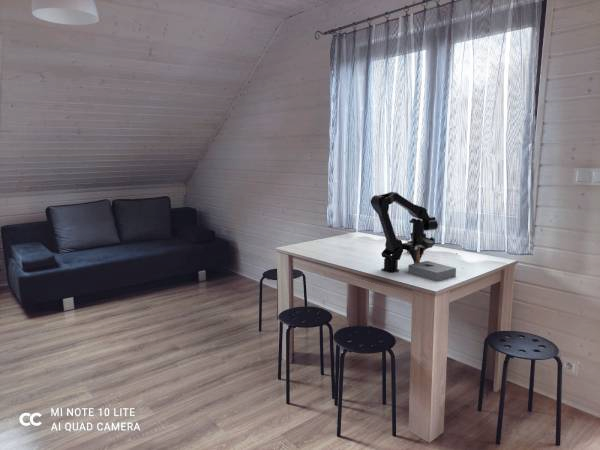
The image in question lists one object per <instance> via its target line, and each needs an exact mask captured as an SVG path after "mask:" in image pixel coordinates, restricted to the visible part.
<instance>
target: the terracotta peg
mask: <svg viewBox="0 0 600 450" xmlns="http://www.w3.org/2000/svg"><path fill="white" fill-rule="evenodd" d="M417 249H418V250H419V251H418V252H417V256H416V262H414V261H413V264H415V263H420V262H421V259H420V248H419V247H417Z"/></svg>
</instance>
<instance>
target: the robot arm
mask: <svg viewBox="0 0 600 450" xmlns="http://www.w3.org/2000/svg"><path fill="white" fill-rule="evenodd" d="M393 203H395V204H397V205H398V206H400V207H401V208H403V209H405V210H406V211H408V214H409V215H410V216H411V217H413V218H411V219H410V220H409V223H410V224H412V229H411V230H412V231H411V232H410V236H411V235H412V241H410V243H407V242H404V243H403V241H402V240H401V239H399V238H397V237H396V234H395V231H394V230H395V229H394V228H393V225H392V221H391V217H390V213H389V209H390V205H391V204H393ZM370 205H371V207H372V209H373V210H374V211H375V213H376V214H377V215H378V218H379V222H380V225H381V228H382V231H383V233H384V237H385V244H384V246H385V248H384V249H383V251H382V252H381V257H382V258H383V259H384V262H383V263H384V264H383V268H381V271H384V272H387V273H395V272H399V271H400V269H398V266H399V265H398V264H399V263H398V262H399V261H400V260H401V257H402V256H403V252H404V251H407V250H408V251H409V252H410V253H409V254H410V256H411V259H412V260H413V263H414V262H416V256H417V252H418V251H419V250H418V249H417V247H419V248H420V260H421V259H422V257H423V255H424V254H423V252H424V253H425V251H426V250H428V249H431V248H432V247H434V245H436V238H435V237H433V236H432V237H427V234H426V233H425V232H428V231H436V230H437V229H438V227H439V223H438V221H437V220H436V217H435V216H430V215H429V213H428V210H427V208H426V207H423V206H421V205H418V204H415V203H413V202H412V201H410V200H408V199H407V198H405V197H404V196H402V195H400V194H399V193H398V192H397V191H390V192H387V193H383V194H378V195H376V194H375V195H373V196H372V197H371V199H370ZM411 243H412V244H411Z"/></svg>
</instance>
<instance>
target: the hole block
mask: <svg viewBox="0 0 600 450" xmlns="http://www.w3.org/2000/svg"><path fill="white" fill-rule="evenodd" d="M407 272H408V274H411V275H414V276H418V277H422V278H424V279H429V280H431V281H434V282H438V281H439V282H440V281H442V280H447V279H450V278H455V277H456V275H457V267H453V266H449V265H446V264H441V263H437V262H433V261H429V260H425V261H420V263H415V264H414V263H411V264H408V271H407Z"/></svg>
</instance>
